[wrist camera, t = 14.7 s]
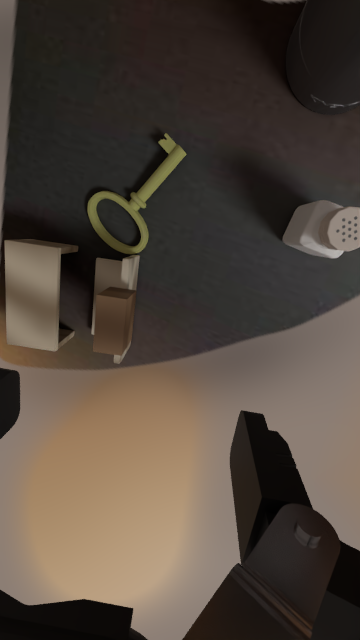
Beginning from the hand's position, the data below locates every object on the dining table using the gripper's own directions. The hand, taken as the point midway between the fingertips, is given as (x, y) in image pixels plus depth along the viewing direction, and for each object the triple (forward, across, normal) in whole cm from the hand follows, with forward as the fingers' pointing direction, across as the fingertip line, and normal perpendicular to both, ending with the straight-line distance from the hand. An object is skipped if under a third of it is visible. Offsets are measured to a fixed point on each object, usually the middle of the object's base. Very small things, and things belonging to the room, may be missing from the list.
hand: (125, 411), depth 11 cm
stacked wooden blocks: (+23, +6, +3) cm, 24 cm away
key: (+25, +5, -8) cm, 27 cm away
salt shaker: (+24, -12, -8) cm, 28 cm away
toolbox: (+24, +14, +3) cm, 28 cm away
